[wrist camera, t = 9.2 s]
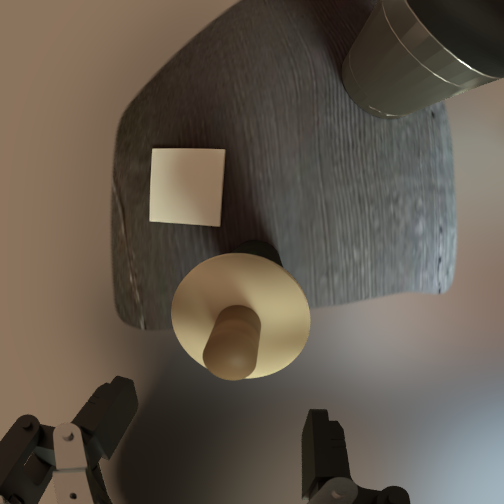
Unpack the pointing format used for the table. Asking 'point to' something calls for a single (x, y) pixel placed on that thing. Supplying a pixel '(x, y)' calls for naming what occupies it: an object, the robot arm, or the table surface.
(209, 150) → the plate
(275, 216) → the table surface
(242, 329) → the lid
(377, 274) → the table surface
